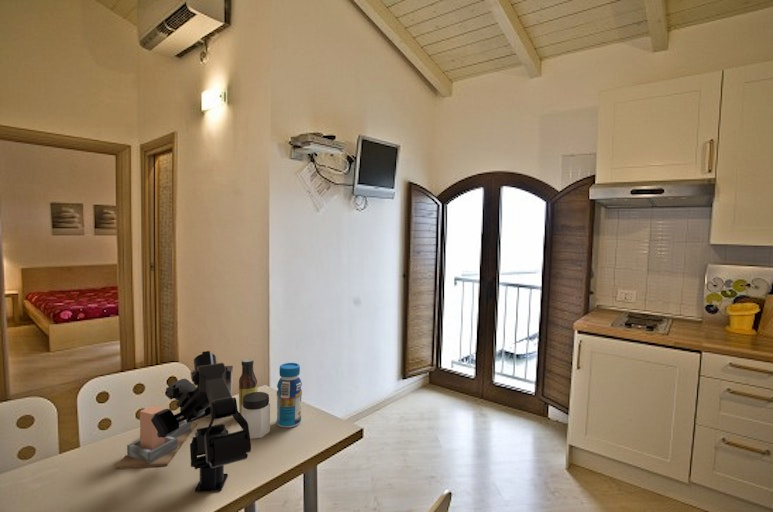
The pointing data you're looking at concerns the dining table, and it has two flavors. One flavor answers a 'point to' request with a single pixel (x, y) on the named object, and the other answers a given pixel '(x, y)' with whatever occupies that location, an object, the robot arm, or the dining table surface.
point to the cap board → (159, 462)
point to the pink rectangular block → (149, 429)
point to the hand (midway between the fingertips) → (173, 428)
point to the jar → (256, 413)
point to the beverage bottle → (289, 396)
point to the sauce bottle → (246, 380)
